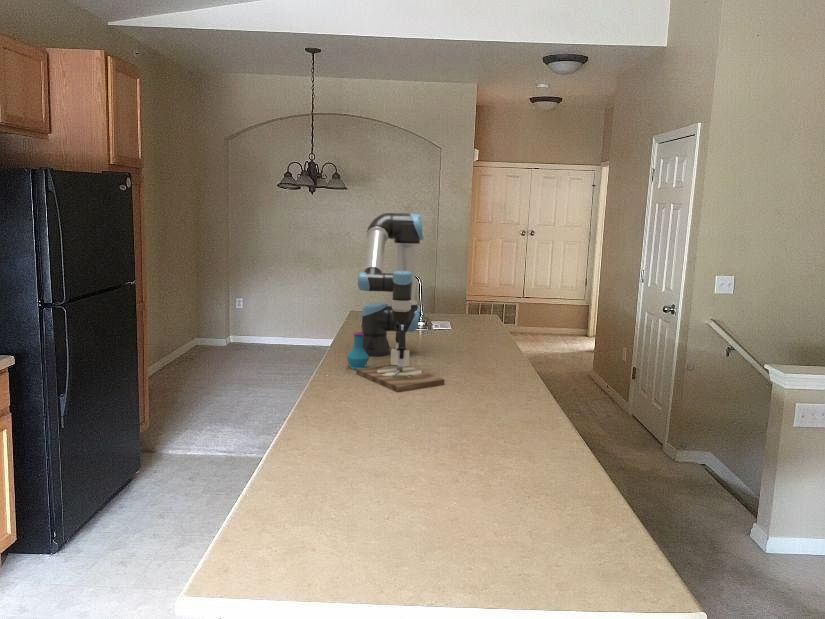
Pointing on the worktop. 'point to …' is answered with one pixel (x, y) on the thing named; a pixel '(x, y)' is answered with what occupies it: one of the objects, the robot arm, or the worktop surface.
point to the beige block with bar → (395, 360)
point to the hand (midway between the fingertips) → (399, 362)
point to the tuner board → (400, 377)
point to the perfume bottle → (358, 353)
